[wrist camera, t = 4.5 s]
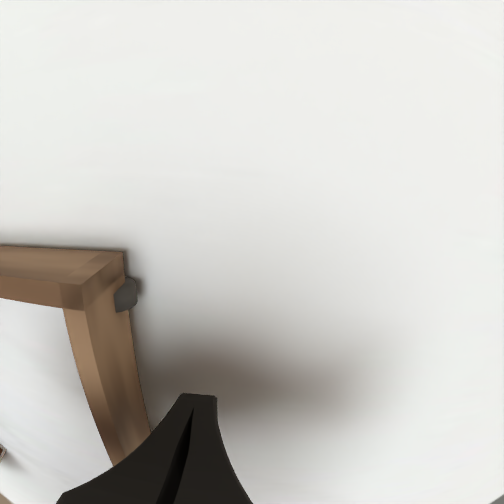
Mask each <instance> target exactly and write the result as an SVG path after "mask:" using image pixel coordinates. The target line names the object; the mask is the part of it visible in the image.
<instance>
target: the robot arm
mask: <svg viewBox="0 0 504 504" xmlns="http://www.w3.org/2000/svg"><path fill="white" fill-rule="evenodd" d="M56 504H253V503H252V502H251V500H250V498H249V497H248V495H247V494H246V492H245V490H244V489H243V487H242V485H241V484H240V482H239V480H238V478H237V476H236V474H235V472H234V470H233V468H232V465H231V463H230V461H229V458H228V456H227V453H226V450H225V447H224V444H223V441H222V438H221V434H220V430H219V426H218V421H217V398H216V397H215V396H209V395H198V394H187V393H182V394H181V395H180V396H179V397H178V399H177V401H176V402H175V404H174V405H173V407H172V408H171V409H170V411H169V412H168V413H167V415H166V416H165V417H164V419H163V420H162V421H161V422H160V424H159V425H158V426H157V427H156V428H155V429H154V431H153V432H152V433H151V434H150V435H149V436H148V437H147V438H146V439H145V440H144V441H143V442H142V443H141V444H140V445H139V446H138V447H137V448H136V449H135V450H134V451H133V452H131V453H130V454H129V455H128V456H127V457H126V458H124V459H123V460H122V461H120V462H119V463H118V464H116V465H115V466H114V467H112V468H111V469H109V470H108V471H106V472H104V473H103V474H101V475H99V476H98V477H96V478H94V479H92V480H91V481H89V482H87V483H85V484H83V485H80V486H78V487H76V488H74V489H71V490H69V491H66V492H64V493H62V495H61V497H60V498H59V499H58V501H57V503H56Z"/></svg>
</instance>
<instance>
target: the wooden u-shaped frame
mask: <svg viewBox="0 0 504 504" xmlns="http://www.w3.org/2000/svg"><path fill="white" fill-rule="evenodd" d="M0 298H4V299H10V300H15V301H21V302H26V303H32V304H38V305H45V306H51V307H58V308H63V312H64V317H65V321H66V326H67V330H68V335H69V339H70V343H71V347H72V351H73V354H74V358H75V362H76V365H77V369H78V372H79V376H80V379H81V382H82V386H83V389H84V392H85V395H86V398H87V401H88V404H89V407H90V410H91V412H92V415H93V418H94V421H95V423H96V426H97V429H98V431H99V434H100V436H101V439H102V441H103V444H104V446H105V448H106V451H107V453H108V455H109V458H110V460H111V462H112V464H113V466H115V465H116V464H118V463H119V462H120V461H122V460H123V459H124V458H126V457H127V456H128V455H129V454H130V453H131V452H133V451H134V450H135V449H136V448H137V447H138V446H139V445H140V444H141V443H142V442H143V441H144V440H145V439H146V438H147V437H148V436H149V435H150V434H151V431H150V427H149V423H148V419H147V414H146V410H145V405H144V401H143V396H142V391H141V386H140V381H139V376H138V370H137V365H136V359H135V353H134V347H133V340H132V334H131V327H130V319H129V312H128V310H129V309H131V308H132V307H134V306H135V305H136V304H137V291H136V282H135V281H134V280H133V279H131V278H129V277H125V275H124V263H123V252H112V251H92V250H71V249H52V248H32V247H13V246H0Z"/></svg>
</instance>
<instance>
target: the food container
mask: <svg viewBox="0 0 504 504" xmlns="http://www.w3.org/2000/svg"><path fill="white" fill-rule="evenodd" d="M5 452H6V449H5V448H4V447H3V446H2V445H1V444H0V462H1V460H2V458H3V456H4V454H5Z"/></svg>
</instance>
